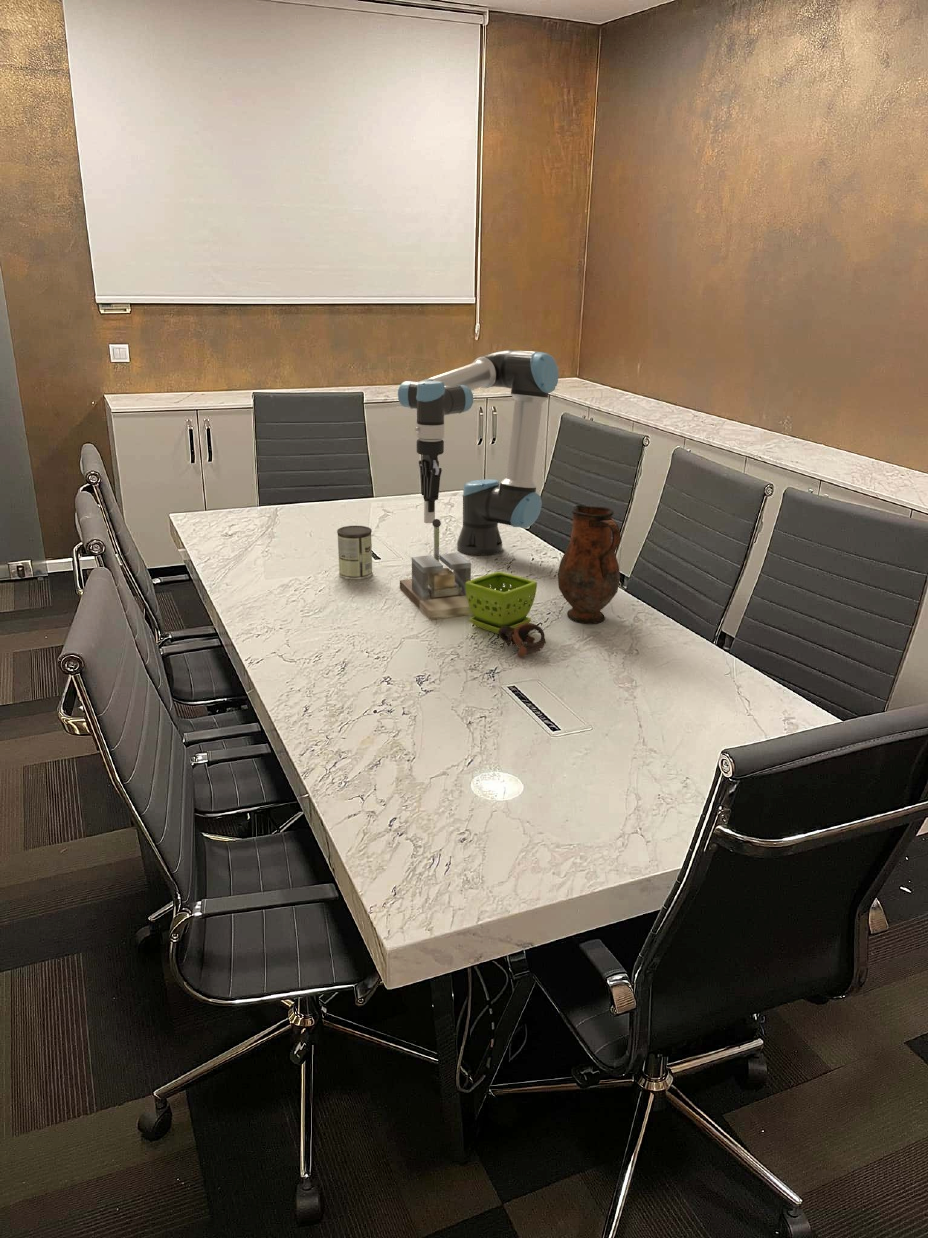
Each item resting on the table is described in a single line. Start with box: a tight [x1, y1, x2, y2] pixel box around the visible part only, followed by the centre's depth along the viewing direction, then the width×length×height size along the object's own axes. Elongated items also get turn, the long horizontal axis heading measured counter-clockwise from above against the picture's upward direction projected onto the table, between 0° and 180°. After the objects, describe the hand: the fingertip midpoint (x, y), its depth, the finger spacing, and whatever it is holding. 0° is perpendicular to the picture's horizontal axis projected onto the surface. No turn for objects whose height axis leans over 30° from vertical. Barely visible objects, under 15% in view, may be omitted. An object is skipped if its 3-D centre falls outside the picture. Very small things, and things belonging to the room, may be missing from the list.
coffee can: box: [336, 525, 373, 581], centre depth 280 cm, size 10×10×14 cm
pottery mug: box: [498, 622, 547, 659], centre depth 228 cm, size 12×10×8 cm
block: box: [428, 567, 455, 589], centre depth 260 cm, size 6×6×6 cm
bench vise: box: [399, 552, 474, 621], centre depth 260 cm, size 16×27×12 cm, turn 21°
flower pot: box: [465, 571, 538, 635], centre depth 242 cm, size 14×14×13 cm
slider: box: [428, 518, 462, 598], centre depth 258 cm, size 9×10×20 cm
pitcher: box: [557, 504, 621, 625], centre depth 245 cm, size 17×21×30 cm
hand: (429, 522), depth 263 cm, fingers closed
